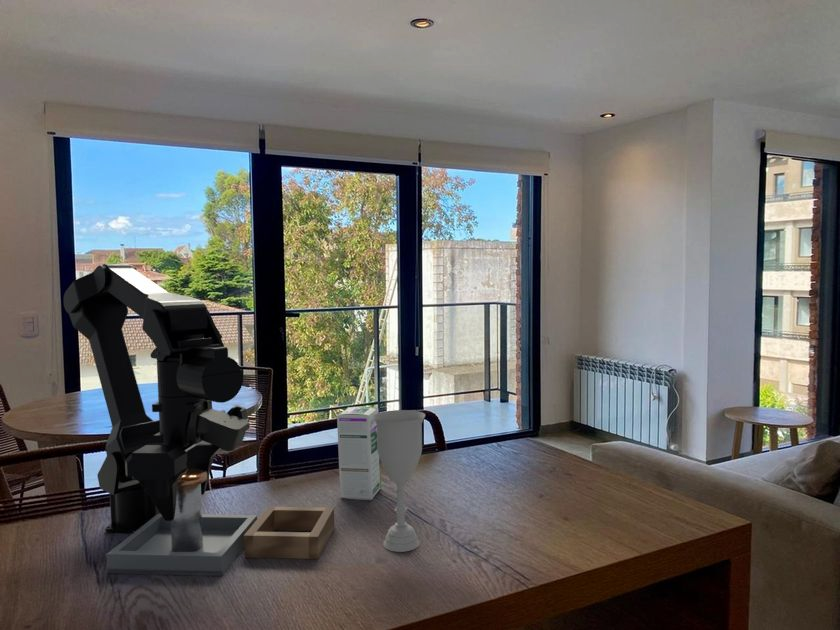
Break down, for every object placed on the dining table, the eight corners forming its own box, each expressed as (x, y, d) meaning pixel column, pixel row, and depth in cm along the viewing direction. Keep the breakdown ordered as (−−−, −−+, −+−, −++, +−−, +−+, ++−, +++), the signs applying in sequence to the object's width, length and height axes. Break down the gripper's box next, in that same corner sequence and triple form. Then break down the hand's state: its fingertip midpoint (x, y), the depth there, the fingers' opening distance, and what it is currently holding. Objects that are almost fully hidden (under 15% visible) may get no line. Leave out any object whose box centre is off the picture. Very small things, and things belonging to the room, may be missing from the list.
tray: (107, 573, 77) (106, 554, 76) (158, 530, 90) (158, 513, 89) (222, 575, 76) (221, 556, 75) (257, 531, 88) (257, 515, 88)
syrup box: (372, 500, 100) (370, 414, 99) (338, 498, 101) (336, 413, 100) (381, 488, 106) (380, 406, 105) (349, 486, 107) (347, 405, 106)
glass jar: (157, 555, 80) (154, 481, 79) (177, 537, 86) (174, 468, 85) (198, 556, 80) (195, 482, 79) (215, 538, 85) (213, 468, 84)
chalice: (387, 559, 79) (385, 424, 78) (367, 539, 85) (365, 414, 84) (436, 547, 83) (434, 417, 81) (413, 529, 89) (411, 408, 87)
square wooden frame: (244, 557, 80) (243, 535, 80) (268, 526, 90) (268, 506, 90) (318, 558, 80) (317, 536, 80) (334, 527, 90) (334, 507, 89)
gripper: (210, 409, 71) (215, 537, 72) (262, 381, 90) (266, 483, 91) (119, 408, 72) (125, 536, 73) (190, 381, 91) (194, 482, 92)
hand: (185, 506), depth 82 cm, fingers open, 9 cm apart
